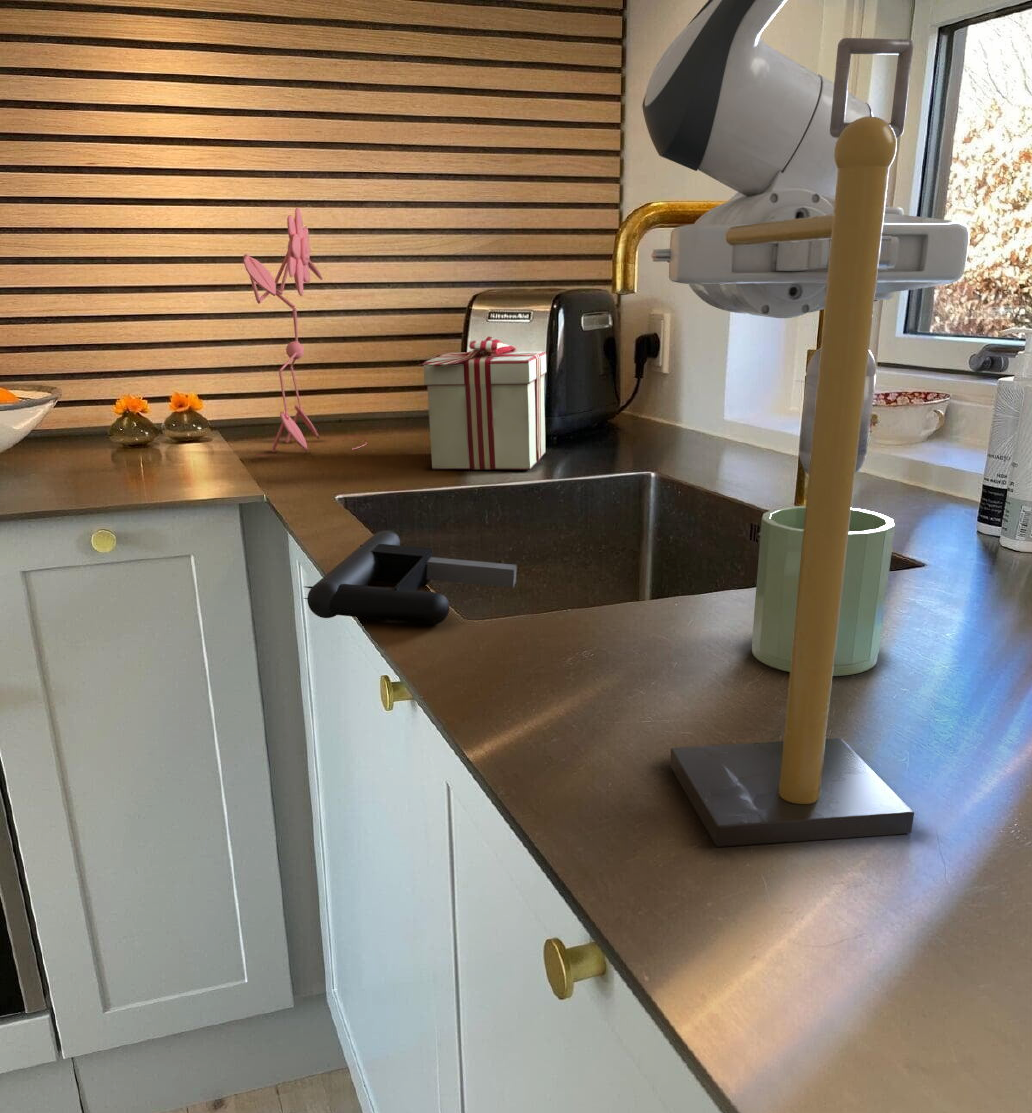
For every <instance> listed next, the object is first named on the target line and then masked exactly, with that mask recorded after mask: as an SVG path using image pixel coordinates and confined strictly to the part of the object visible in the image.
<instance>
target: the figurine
mask: <svg viewBox="0 0 1032 1113" xmlns="http://www.w3.org/2000/svg"><path fill="white" fill-rule="evenodd" d="M302 216H303V215H302V212H301V209H300V208H299V207H298V206H296V207H295V210H294V217H293V215H291V214H289V215H288V216H287V218H286V220H287V221H286V222H287V223H286V225H287V226H286V227H287V234H288V239H289V241H288V243H287V251H286V254H285V256H284V258H283V260H282V263H281V265H280V268H279V270H278V271H277V272H278V273H277V275H276V277H275V278H274V277H273V275H272V273H271V272H270V271H269V269H268V268H267V267H265V266H264V265H263V264H262V263H261V262H260V261H259V260H258V259H256V258H255V257H252V256H250V255H249V254H248V253H245V254H243V257H242V258H243V264H244V268H245V271H246V272H247V274H248V275H249V278H250V282H251V287H252V290H253V294H254V298H255V300H256V303H257V304H258V305H260V304H261V303H262V302H263V301H265V299H266V298H267V297H268V296H269V295H272V296H273V297H277V298H279V300H281V301H282V302H283V303H284V304H286V305H287V306H288V307H289V308H291V310H292V318H293V329H294V339H295V340H294V341H291V342H289V343H288V344H287V346H286V348H285V352H286V355H287V357H289V358H288V359H287V361H286V362H285V363H284V364H283V365H282V367H280V369H279V370H278V375H279V382H280V388H281V394H282V400H283V407H284V411H280V413H279V417H280V419H281V424H280V427H279V429H278V432H277V434H276V437H275V439H274V442H273V444H272V447H271V449H270V451H271V452H275V451H276V448H277V446H278V444H279V441H280V438H281V436H282V433H283V431H284V428H285V429H286V431H287V435H286V438H285V441H284V442H285V443H287V444H289V442H290V440H291V438H292V439H293V440H294V441H295V443H297V444H298V445H299V446H300V447H301V449H303V450H304V451H305V452H308V450H309V449H308V445H307V442H306V438H305V436H304V434H303V432H302V430H301V429H300V428H299V426H298V425H297V422H298V420H299V417H300V419H301V420H302V421H303V423H304V424H305V425H306V426H307V428H308V429H309V431H310V432H311V433H312V434H313V435H314V436H315V437H316V438H317V440H320V438H321V436H320V435H319V433H318V431H317V429H316V427H315V426H314V424H313V422H312V421H311V420H310V419H309V417H308V415H306V413H305V412H304V409H303V408H302V404H301V399H300V395H299V389H298V384H297V381H296V376H295V371H294V364H295V362H296V361H297V360H300V359H301V358H302V357H303V356H304V351H305V349H304V346H303V345H302V343H300V342H299V337H298V336H299V335H298V334H299V333H298V314H297V312H298V311H297V308H296V305H294V303H292V302H291V301H289V300H288V299H286V298H285V297H284V296H283V292H284V288H285V285H286V281H287V277H288V275H289V277H290V278H294V284H295V288H296V290H297V293H298V295H299V296H300V297H303V294H304V283H305V284H310V281H311V273H310V272H313V273H314V275H315V276H316V277H317V278H318V279H319V280H320V281H323V277H322V274H321V273H320V271H319V270H318V268H317V267H316V265H315V264H314V263H313V262H312V261H311V259H310V257H311V255H310V254H311V248H310V247H311V246H310V243H309V241H310V235H309V234H310V233H309V228H308V226H307V225H305V226H304V223H303V217H302ZM283 271H284V272H283ZM282 273H283V275H282ZM281 276H282V279H281V283H280V287H279V289H278V288H277V286H278V282H279V281H280V278H281ZM257 285H258V286H259V287H260V288H261V289H263V290H264V291H265V292H264V293H262V295H261V296H260V294H259V291H258V286H257ZM288 365H289V368H290V372H291V376H292V380H293V386H294V389H295V394H296V398H297V403H298V404H294V409H295V410H296V413H295V416H294V418H292V417H291V416H290V415H289V413H288V406H287V399H286V392H285V387H284V385H285V384H284V380H283V379H284V378H283V373H282V372H283V371H284V369H285V368H286V367H287V366H288ZM347 437H353V438H357V439H361V440H364V441H365V443H364V444H362V445H360V446H356V447H354V448H353V447H352V450H357V449H359V448H362V447H364V446H366V445H367V443H368V441H367V437H360V436H356V435H349V434H347ZM255 456H257V457H267V456H268V455H267V454H256V455H255Z"/></svg>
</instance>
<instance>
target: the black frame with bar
mask: <svg viewBox="0 0 1032 1113" xmlns="http://www.w3.org/2000/svg"><path fill="white" fill-rule="evenodd" d="M517 572H518V564H511V563H510V564H509V563H499V562H490V561H477V560H467V559H458V558H457V559H456V558H446V557H435V556H434V549H433V548H432V547H422V546H421V547H419V546H410V545H409V546H408V545H402V544H401V539H400V537H399V536H398V534H397V533H396V532H394V531H392V530H389V529H386V530H381V531H378V532H376V533H373V534H372V536H370V537H369V538H368V539H367V540H365V541H364V542H363V543H362V544H359V546H358V547H357V548H356V549H355V550H354V551H353V552H351V553H350V554H349V555H348V556H347V557H346V558H344V559H343V560H342V561H341V562H340V563H338V564H337V565H336V566H335V567H333V569H332V570H330V571H329V572H327V573H326V575H324V576H323V577H322V578H321V579H320V580H318V581H317V582H316V583H315V584H314V585H313V586H311V585H310V586H305V585H304V588H306V589H309V591H308V593H307V597H303V599H305V600H307V601H306V602H307V605H308V608H309V609H310V611H311V612H312V614H314V615H315V616H316V617H319V618H322V619H331V618H332V619H333V618H334V617H336V616H344V617H353V618H363V619H373V620H384V621H394V622H402V623H403V622H404V623H414V624H423V625H438V624H441V623H442V622H443V621H444V620H445V619H446V618H447V617H448V615H449V612H450V602H449V600H448V598H447V597H446V596H445V595H444V594H442V593H440V592H434V591H423V590H420V589H421V588H422V587H423V588H424V587H427V585H428V584H429V583H430V582H431V581H437V582H438V581H439V582H449V583H458V584H459V583H460V584H470V585H479V586H480V585H481V586H492V587H500V588H501V587H502V588H510V589H511V588H512V589H514V587H515V586H516V583H517ZM371 583H383V584H394V585H395V586H394V587H393V588H392V587H383V586H382V587H380V586H370V584H371Z"/></svg>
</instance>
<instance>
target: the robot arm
mask: <svg viewBox="0 0 1032 1113" xmlns="http://www.w3.org/2000/svg"><path fill="white" fill-rule="evenodd" d="M787 1H788V0H707V1H706V2H705V4H704V5H703V6H702V8H701V9H700V10H699V11H698V12H697V13H696V14H695V16H694V17H693V18H692V19H691V21H690V22H689V23H688V24H687V25H686V27H685V28H684V29H683V30H682V31H681V32H680V33H679V34H678V35H677V36H676V38H674V39H673V41H672V42H671V43H670V44H669V46H668V47H667V48H666V49H665V51H664V52H663V53H662V55H661V57H660V58H659V60H658V61H657V63H656V65H655V67H654V70H653V71H652V73H651V76H650V79H649V81H648V83H647V87H646V91H645V93H644V97H643V99H642V100H643V101H642V104H641V109H642V114H643V119H644V121H645V126H646V128H647V129H646V130H647V132H648V134H649V137H650V140H651V142H652V144H653V147H654V148H655V150H656V152H657V154H658V156H659V157H661V158H664V159H666V160H669V161H670V162H673V163H676V164H678V165H681V166H682V167H685V168H688V169H690V170H692V171H695V172H697V171H699V172H701V173H703V174H705V175H706V176H708V177H710V178H712V179H713V180H715V181H717V182H719V183H721V184H722V185H724V186H727V187H728V188H730V189H732V190H733V191H735V192H736V193H735V194H734V195H733V196H732V197H731V198H730V199H728V200H727V201H726V202H723V203H720V204H718V205H717V206H715V207H713V208H711V209H709V210H707V211H706V212H705V213H704V214H702V215H701V216H699V217H698V219H696V220H695V222H694V223H693V224H685V225H680V226H677V227H675V228H673V229H672V230H671V232H670V237H669V238H670V239H669V248H656V249H653V250H652V253H651V258H652V262H658V263H660V262H667V263H668V279H669V281H671V282H673V283H677V284H684V285H688V286H689V288H690V289H691V290H692V291H693V292H694V293H695V295H696V296H697V297H698V298H700V299H701V300H702V302H704V303H706V304H708V305H709V306H711V307H713V308H716V309H718V310H722V311H725V312H729V313H735V314H744V315H745V314H749V315H751V316H752V315H753V316H758V317H764V318H765V317H766V318H775V319H792V318H797V317H800V316H804V315H806V314H809V313H814V312H815V313H816V312H818V311H822V310H825V299H826V289H827V278H828V267H829V257H830V246H831V239H827V240H813V241H798V242H784V243H770V244H755V245H741V246H731V245H729V244H728V243H727V241H726V233H727V231H728V230H729V229H730V228H731V227H735V226H743V225H751V224H759V223H767V222H775V221H783V220H791V219H799V218H807V217H815V216H823V215H831V214H834V204H835V194H836V183H837V173H838V168H837V166H836V163H835V158H834V151H835V146H836V142H837V140H838V138H835V137H832V136H831V134H830V123H831V112H832V102H833V91H834V82H833V81H831V80H830V79H828V78H826V77H824V76H823V75H821V74H817V73H815V72H814V71H812V70H810V69H808V68H807V67H805V66H803V65H801V64H800V63H798V62H796V61H795V60H793V59H791V57H788V56H787V55H785V54H783V53H781V52H780V51H778V50H777V49H775V48H774V47H771V46H770V45H768V44H767V43H766V42H765V41H764V40H763V39H762V36H761V34H762V32H764V29H766V28H767V26H768V25H769V24H770V22H771V21H772V20H773V19H774V17H775V16H776V14H777V13H778V12H779V11H780V10H781V8H783V6H784V5H785V3H786V2H787ZM868 116H872V117H874V114H873V111H872V108H871V106H870V104H869V103H867V102H864V101H863V100H862V99H860V98H858V96H856V95H854V94H853V93H851V92H849V91H848V90H847V100H846V110H845V120H844V123H852V122H853V121H855V120H857V119H859V118H862V117H868ZM969 245H970V229H969V227H968V225H967V224H965V223H964V222H961V221H956V220H951V219H950V220H949V219H943V218H942V219H941V218H934V217H925V216H917V215H916V216H915V215H906V214H905V213H904V209H903V208H902V207H899V206H888V205H885V210H884V219H883V228H882V237H881V246H880V255H879V264H878V273H877V282H876V291H875V300H874V302H877V301H888V300H890V299H892V298H893V297H894V295H895V292H896V293H897V292H905V291H913V290H919V289H926V288H933V287H937V286H944V285H950V284H953V283H956V282H958V281H959V280H960V279H961V278H962V277H963V275H964V272H965V269H966V264H967V259H968V253H969V247H970V246H969Z"/></svg>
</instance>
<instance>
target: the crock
mask: <svg viewBox="0 0 1032 1113" xmlns="http://www.w3.org/2000/svg"><path fill="white" fill-rule="evenodd" d="M805 510H806V505H793V506H785V507H779V508H774V509H771V510H768V511H766V512H763V513H762V517H761V523H760V535H759V550H758V561H757V573H756V585H755V586H756V587H755V596H754V599H755V600H754V611H753V621H752V636H751V653H752V655H753V657H754V658H755V659H757V661H759V662H760V663H762V664H764V665H766V666H769V667H771V668H774V669H777V670H780V671H784V672H788V673H790V668H791V657H792V647H793V636H794V626H795V615H796V605H797V594H798V583H799V573H800V562H801V552H802V541H803V531H804V520H805ZM895 528H896V525H895V521H894V519H893V518H892V517H889V516H887V515H884V514H882V513H878V512H875V511H871V510H867V509H861V508H855V507H854V508H853V507H851V515H850V524H849V533H848V542H847V551H846V560H845V569H844V578H843V587H842V596H841V605H840V614H839V623H838V632H837V641H836V650H835V659H834V668H833V677H842V676H850V675H857V674H860V673H863V672H865V671H866V672H867V671H869V670H870V669H872V668H874V666H875V665H876V664H877V662H878V655H879V652H880V647H881V646H880V645H881V638H882V631H883V623H884V615H885V608H886V607H885V606H886V599H887V592H888V591H887V590H888V583H889V576H890V569H891V568H890V567H891V561H892V560H891V559H892V553H893V545H894V537H895Z"/></svg>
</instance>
